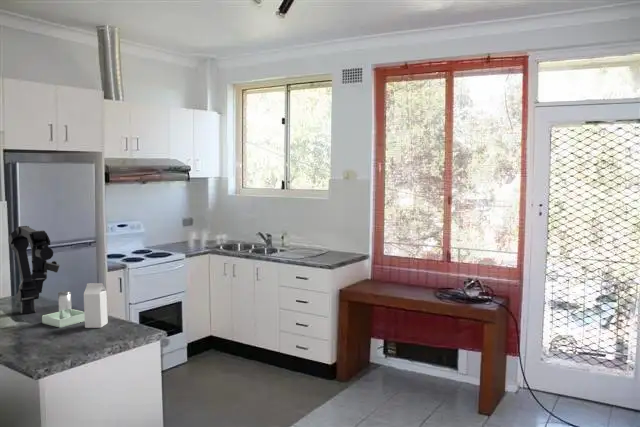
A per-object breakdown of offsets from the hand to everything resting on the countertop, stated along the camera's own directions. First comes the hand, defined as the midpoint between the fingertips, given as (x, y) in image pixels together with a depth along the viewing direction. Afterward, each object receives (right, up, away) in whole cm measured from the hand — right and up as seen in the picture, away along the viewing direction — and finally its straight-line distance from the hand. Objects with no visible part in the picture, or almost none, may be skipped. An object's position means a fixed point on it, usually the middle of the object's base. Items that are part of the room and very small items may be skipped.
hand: (40, 291), depth 250 cm
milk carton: (+31, -14, -12) cm, 37 cm away
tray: (+14, -13, -5) cm, 20 cm away
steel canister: (+14, -13, -5) cm, 20 cm away
